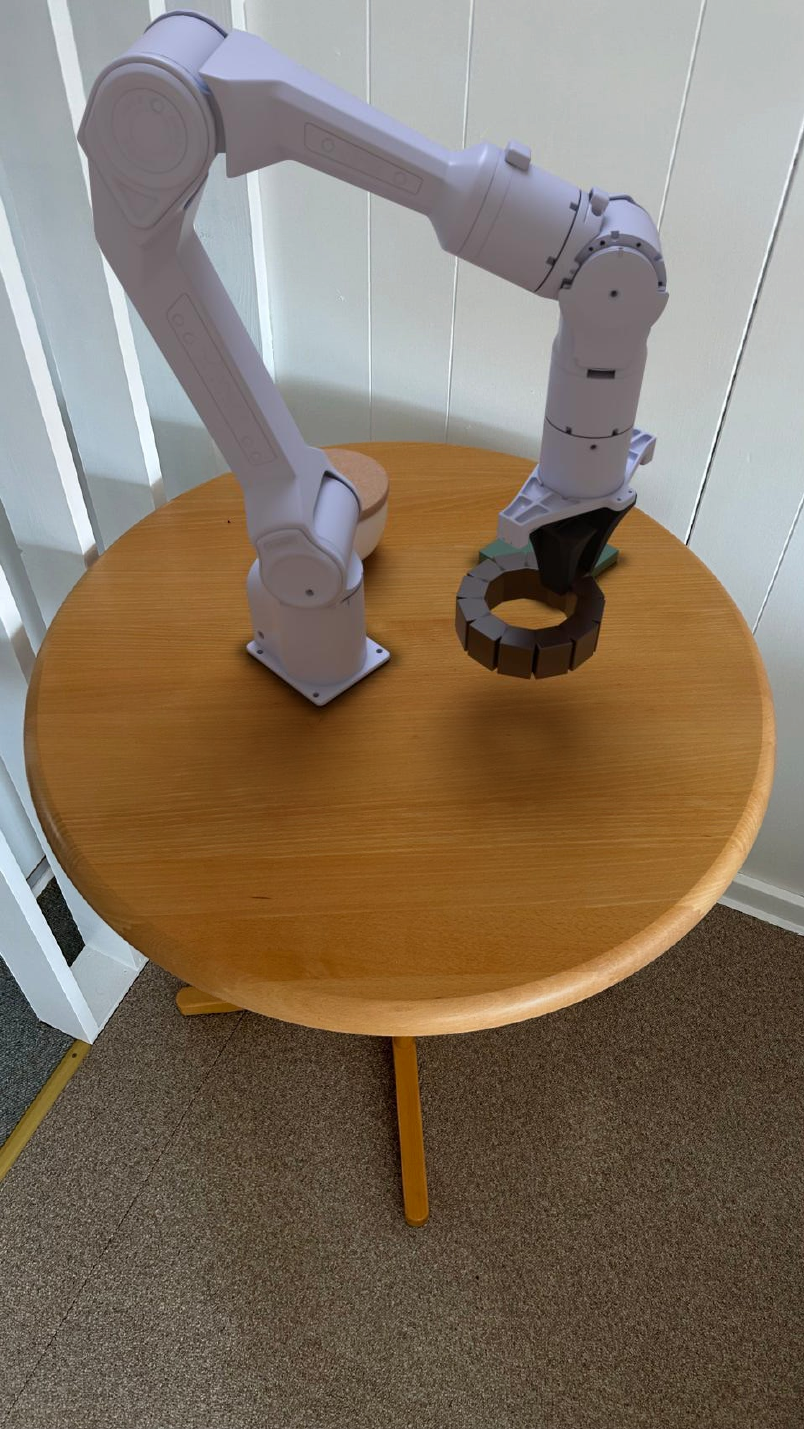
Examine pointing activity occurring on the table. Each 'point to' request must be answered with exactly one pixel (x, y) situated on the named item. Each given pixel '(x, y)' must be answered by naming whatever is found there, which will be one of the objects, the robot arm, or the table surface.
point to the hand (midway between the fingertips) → (565, 579)
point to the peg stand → (503, 548)
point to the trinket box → (364, 495)
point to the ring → (522, 646)
